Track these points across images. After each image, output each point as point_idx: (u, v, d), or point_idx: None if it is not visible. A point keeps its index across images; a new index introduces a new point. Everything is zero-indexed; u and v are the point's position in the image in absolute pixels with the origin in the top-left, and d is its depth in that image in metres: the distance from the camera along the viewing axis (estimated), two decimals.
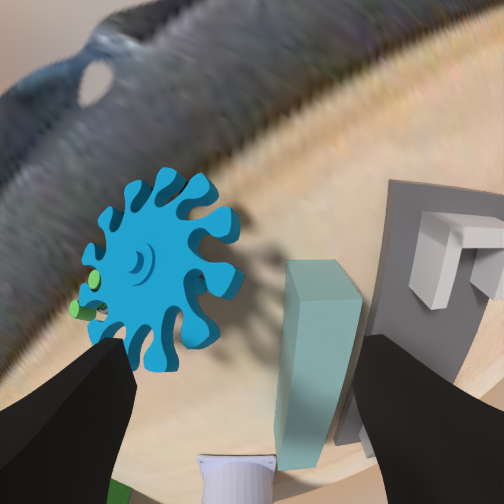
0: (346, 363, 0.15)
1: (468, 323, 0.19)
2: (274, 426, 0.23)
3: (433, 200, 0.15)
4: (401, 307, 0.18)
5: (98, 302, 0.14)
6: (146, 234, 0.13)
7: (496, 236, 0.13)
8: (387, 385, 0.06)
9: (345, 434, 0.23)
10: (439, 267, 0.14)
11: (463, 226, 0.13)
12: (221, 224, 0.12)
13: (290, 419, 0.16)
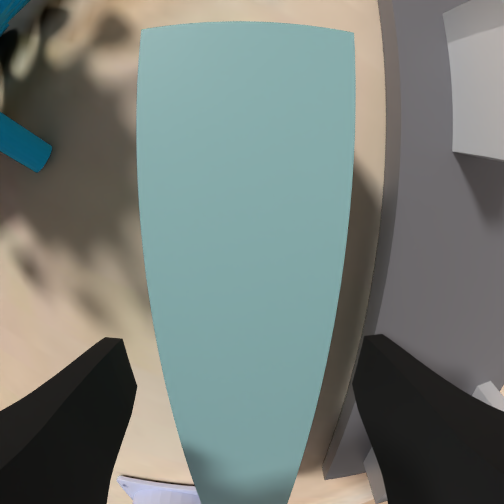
0: (332, 292, 0.05)
1: None
2: None
3: (456, 5, 0.05)
4: (444, 200, 0.08)
5: None
6: None
7: None
8: (387, 386, 0.06)
9: (340, 464, 0.13)
10: None
11: None
12: None
13: (194, 450, 0.06)
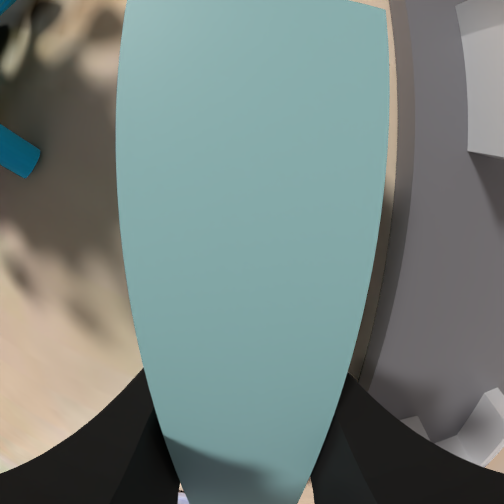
0: (353, 319, 0.04)
1: None
2: None
3: None
4: (459, 203, 0.07)
5: None
6: None
7: None
8: None
9: None
10: None
11: None
12: None
13: (189, 477, 0.05)
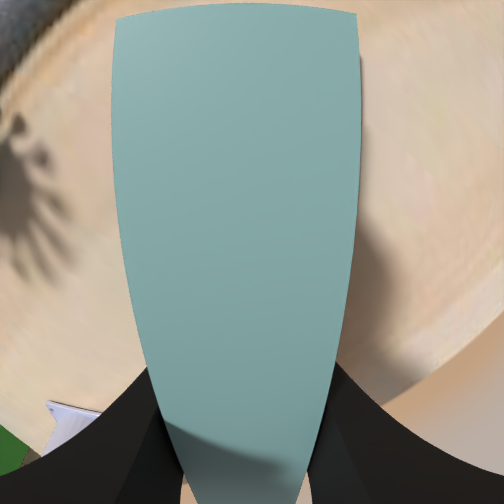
0: (337, 306, 0.04)
1: None
2: None
3: None
4: None
5: None
6: None
7: None
8: None
9: None
10: None
11: None
12: None
13: (192, 467, 0.06)
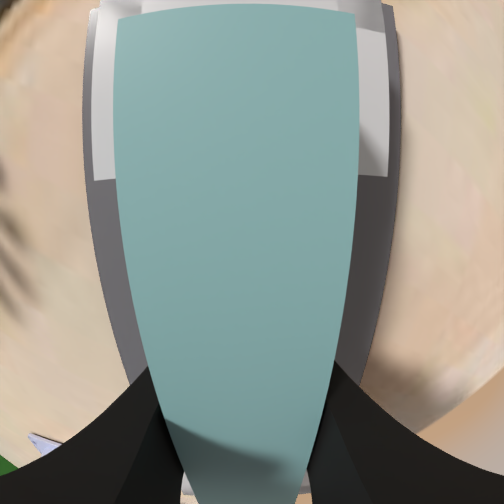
0: (336, 303, 0.04)
1: None
2: None
3: None
4: None
5: None
6: None
7: None
8: None
9: None
10: None
11: None
12: None
13: (193, 465, 0.06)
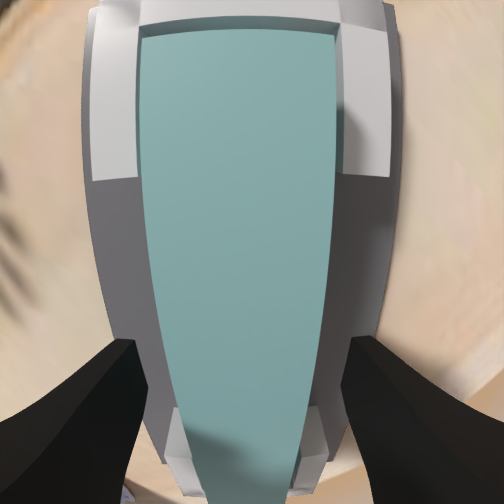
0: (320, 273, 0.05)
1: (349, 273, 0.11)
2: None
3: None
4: (133, 215, 0.10)
5: None
6: None
7: None
8: (373, 388, 0.06)
9: (164, 450, 0.14)
10: None
11: None
12: None
13: (196, 434, 0.07)
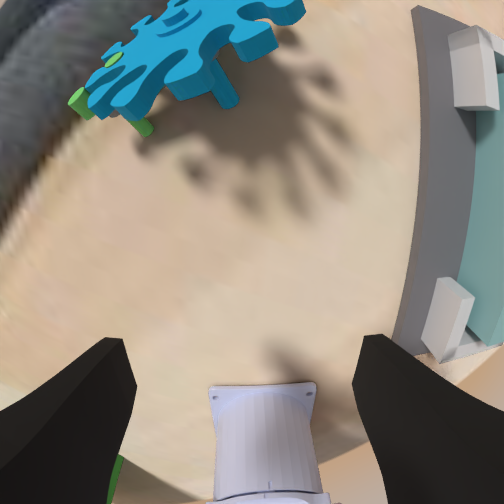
0: None
1: None
2: None
3: (455, 29, 0.11)
4: (452, 131, 0.14)
5: (110, 81, 0.10)
6: (192, 8, 0.10)
7: None
8: (387, 386, 0.06)
9: (406, 337, 0.19)
10: (479, 63, 0.10)
11: (487, 32, 0.09)
12: None
13: None
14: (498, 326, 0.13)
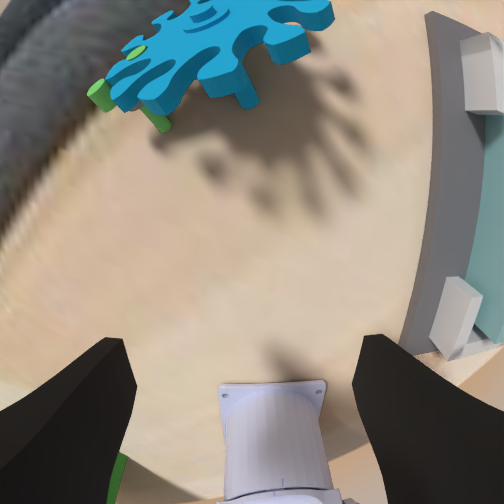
0: None
1: None
2: None
3: (466, 35, 0.11)
4: (463, 134, 0.14)
5: (132, 74, 0.10)
6: (218, 6, 0.10)
7: None
8: (387, 386, 0.06)
9: (415, 335, 0.19)
10: (491, 69, 0.10)
11: (498, 39, 0.09)
12: None
13: None
14: None
